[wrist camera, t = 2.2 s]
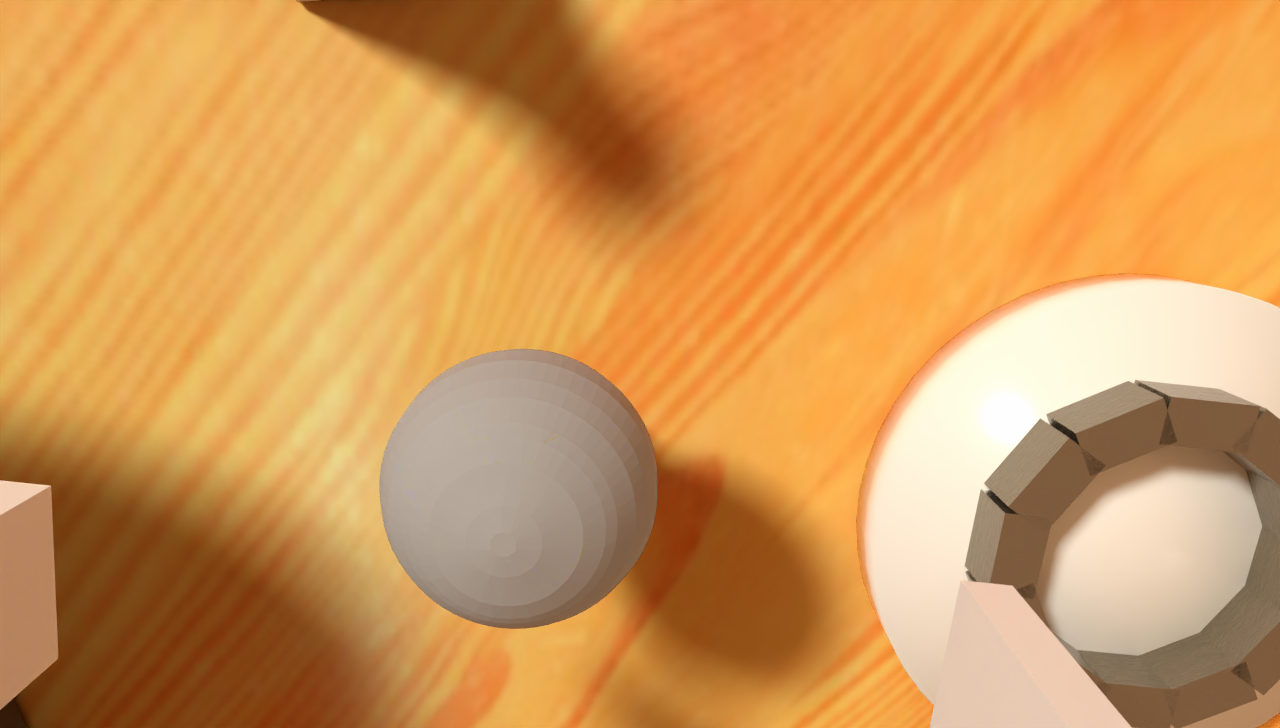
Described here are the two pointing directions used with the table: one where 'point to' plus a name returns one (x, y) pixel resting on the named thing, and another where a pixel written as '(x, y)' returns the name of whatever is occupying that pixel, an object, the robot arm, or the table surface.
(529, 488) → the light bulb
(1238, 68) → the table surface
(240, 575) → the table surface
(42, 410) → the table surface
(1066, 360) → the socket base
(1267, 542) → the socket collar
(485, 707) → the table surface
